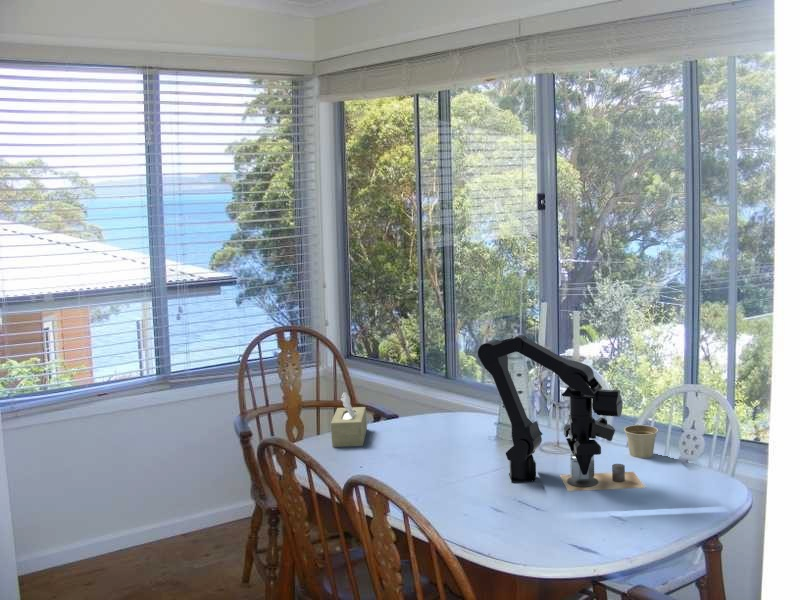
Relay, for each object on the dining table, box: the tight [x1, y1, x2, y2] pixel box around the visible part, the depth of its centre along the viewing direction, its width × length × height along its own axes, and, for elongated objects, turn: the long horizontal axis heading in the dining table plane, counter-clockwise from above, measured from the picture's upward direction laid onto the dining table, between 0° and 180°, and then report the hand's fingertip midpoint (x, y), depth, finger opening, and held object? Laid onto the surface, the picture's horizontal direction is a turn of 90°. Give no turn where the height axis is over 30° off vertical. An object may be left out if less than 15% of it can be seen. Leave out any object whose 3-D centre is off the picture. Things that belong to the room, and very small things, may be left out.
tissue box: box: [330, 391, 368, 448], centre depth 274 cm, size 19×10×16 cm, turn 178°
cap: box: [569, 452, 595, 479], centre depth 220 cm, size 6×6×6 cm
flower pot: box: [623, 424, 659, 459], centre depth 240 cm, size 9×9×9 cm
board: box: [559, 463, 646, 492], centre depth 220 cm, size 20×12×5 cm, turn 89°
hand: (582, 470), depth 220 cm, fingers closed on cap, 6 cm apart
